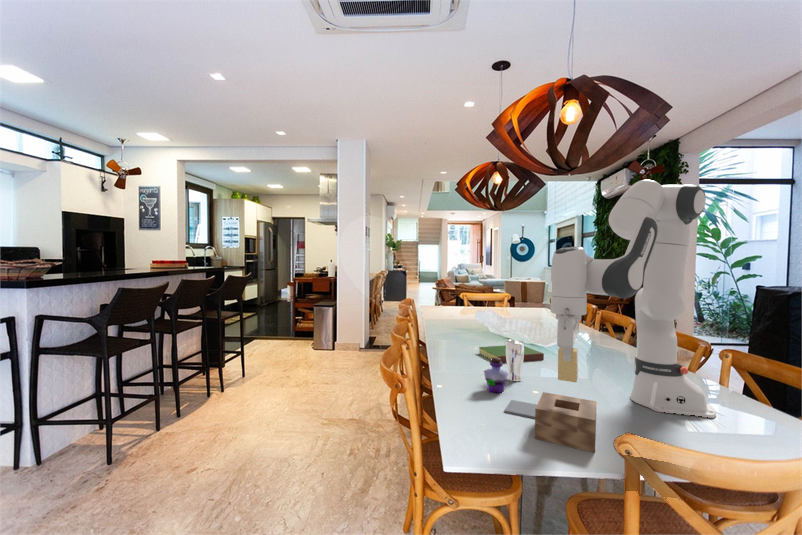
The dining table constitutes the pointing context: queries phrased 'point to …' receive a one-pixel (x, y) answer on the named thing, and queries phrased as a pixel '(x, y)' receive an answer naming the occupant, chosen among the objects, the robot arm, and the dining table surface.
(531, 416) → the slate pad
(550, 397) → the wooden slotted box
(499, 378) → the potion bottle
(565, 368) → the tan wooden block
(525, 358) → the hardcover book
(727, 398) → the dining table surface
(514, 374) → the beer glass
